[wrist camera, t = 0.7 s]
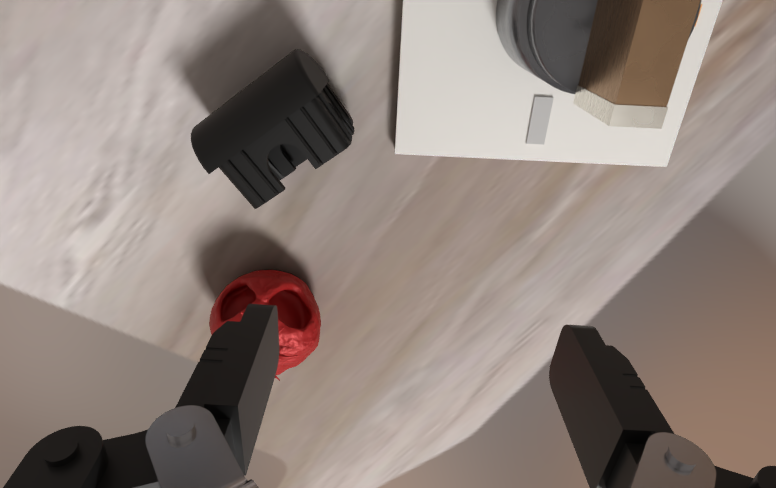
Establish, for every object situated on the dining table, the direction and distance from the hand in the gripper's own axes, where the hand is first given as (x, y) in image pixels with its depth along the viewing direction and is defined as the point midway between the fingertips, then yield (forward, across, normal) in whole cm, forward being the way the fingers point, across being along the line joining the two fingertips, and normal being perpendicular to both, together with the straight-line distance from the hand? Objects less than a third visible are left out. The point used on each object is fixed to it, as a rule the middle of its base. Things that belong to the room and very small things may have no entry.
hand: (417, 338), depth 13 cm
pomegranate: (+28, +11, +20) cm, 36 cm away
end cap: (+28, +9, +2) cm, 30 cm away
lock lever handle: (+19, -10, -8) cm, 23 cm away
